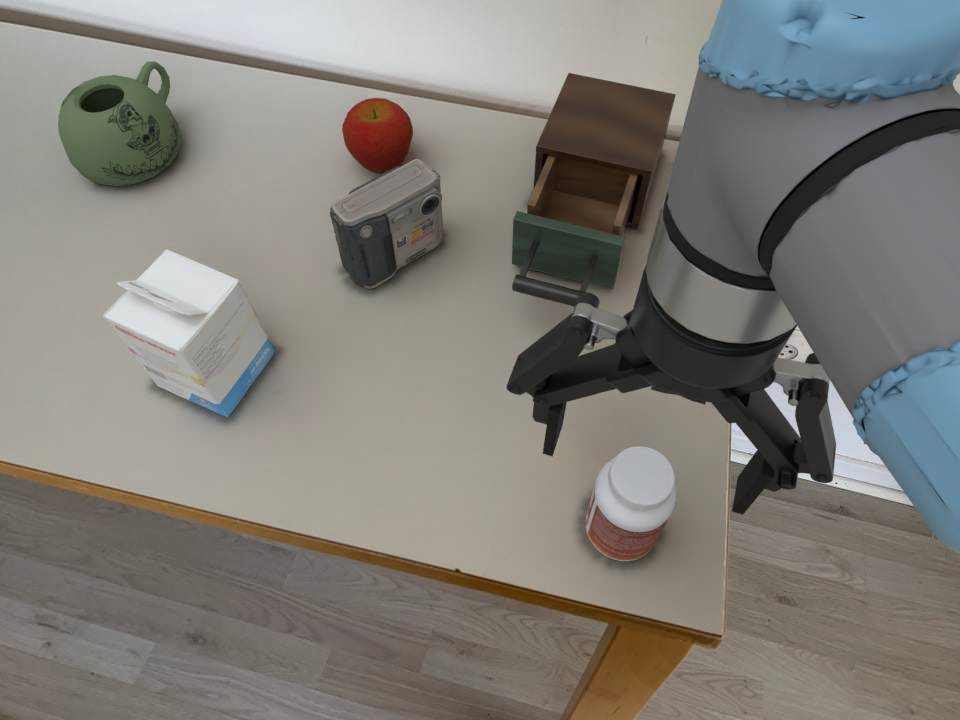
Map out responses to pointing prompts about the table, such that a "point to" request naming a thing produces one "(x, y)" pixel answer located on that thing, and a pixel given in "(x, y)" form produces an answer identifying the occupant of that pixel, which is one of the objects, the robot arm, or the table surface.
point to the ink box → (192, 331)
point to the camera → (388, 222)
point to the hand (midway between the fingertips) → (644, 466)
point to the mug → (119, 128)
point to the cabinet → (608, 131)
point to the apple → (378, 134)
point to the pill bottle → (631, 503)
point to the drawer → (572, 228)
